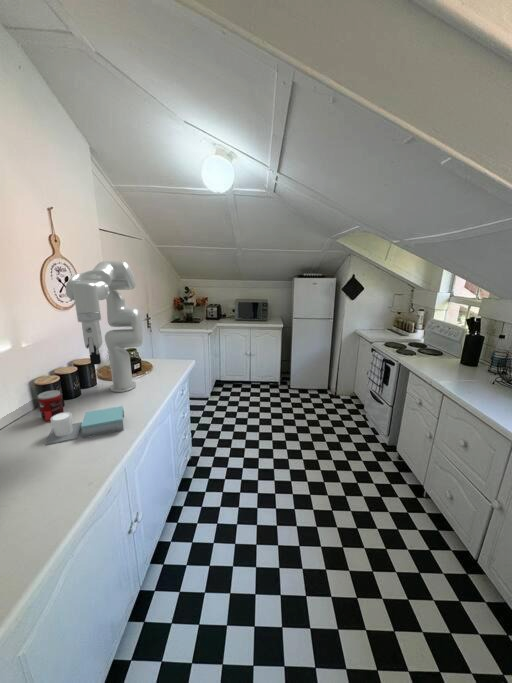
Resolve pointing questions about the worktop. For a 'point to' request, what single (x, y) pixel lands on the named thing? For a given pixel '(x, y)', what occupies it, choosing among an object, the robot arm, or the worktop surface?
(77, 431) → the mat
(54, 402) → the canned food
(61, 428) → the shot glass
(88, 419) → the panel
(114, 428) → the grey flat bars
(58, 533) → the worktop surface
